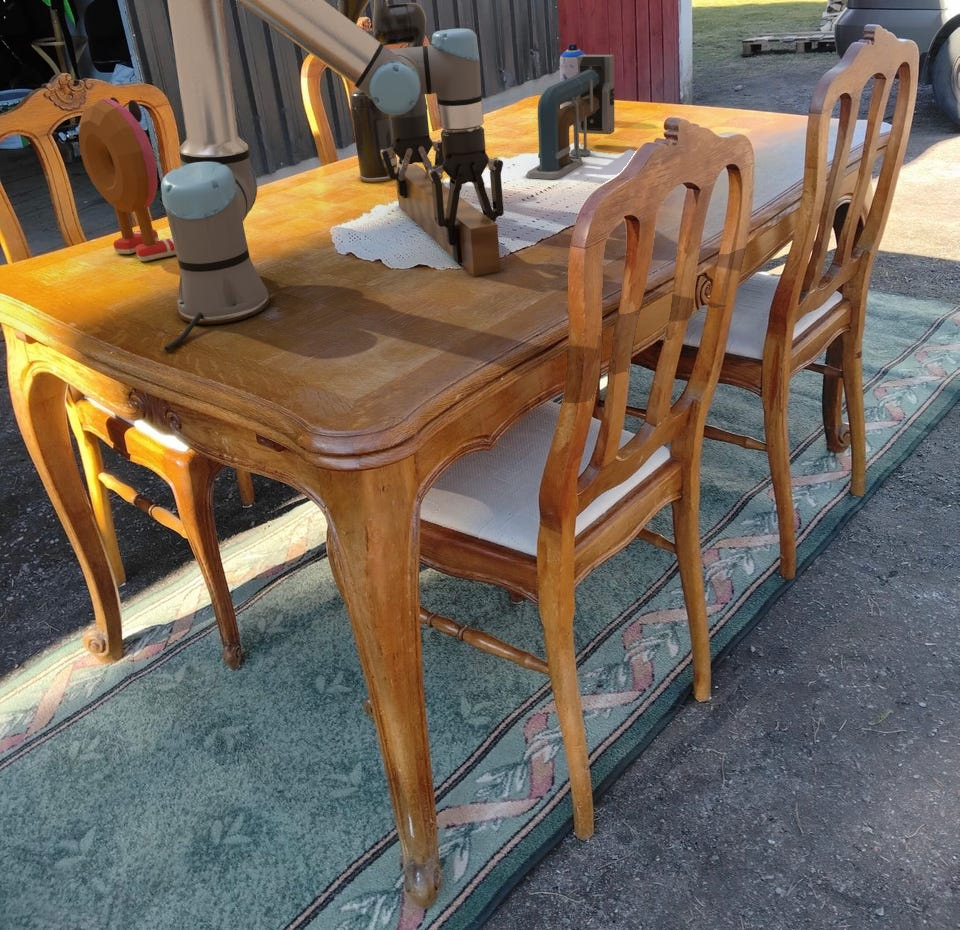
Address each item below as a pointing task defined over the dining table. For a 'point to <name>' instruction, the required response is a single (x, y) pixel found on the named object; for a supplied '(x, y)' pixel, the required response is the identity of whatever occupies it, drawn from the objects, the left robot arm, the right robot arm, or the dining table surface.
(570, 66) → the aerosol can
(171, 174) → the left robot arm
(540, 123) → the clamp
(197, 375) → the dining table surface
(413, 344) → the dining table surface
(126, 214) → the toy
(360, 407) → the dining table surface
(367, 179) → the right robot arm
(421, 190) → the beam
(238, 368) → the dining table surface
